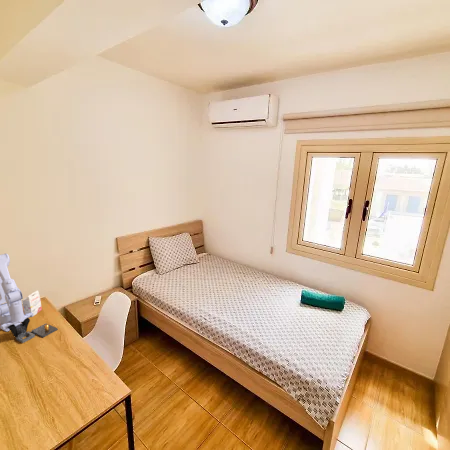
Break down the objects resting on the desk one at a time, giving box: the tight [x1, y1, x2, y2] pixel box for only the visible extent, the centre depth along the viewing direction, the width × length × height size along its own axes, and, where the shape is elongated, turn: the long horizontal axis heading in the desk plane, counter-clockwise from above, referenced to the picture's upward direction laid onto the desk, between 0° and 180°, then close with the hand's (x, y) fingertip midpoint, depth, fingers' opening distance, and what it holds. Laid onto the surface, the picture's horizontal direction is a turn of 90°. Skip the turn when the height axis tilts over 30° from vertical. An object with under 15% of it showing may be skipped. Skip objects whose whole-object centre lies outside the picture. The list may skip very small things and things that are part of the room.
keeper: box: [30, 323, 59, 338], centre depth 143 cm, size 11×8×4 cm
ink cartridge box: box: [21, 290, 43, 318], centre depth 160 cm, size 9×5×15 cm, turn 179°
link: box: [13, 324, 36, 344], centre depth 137 cm, size 10×6×6 cm, turn 65°
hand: (20, 333), depth 139 cm, fingers closed on link, 4 cm apart
